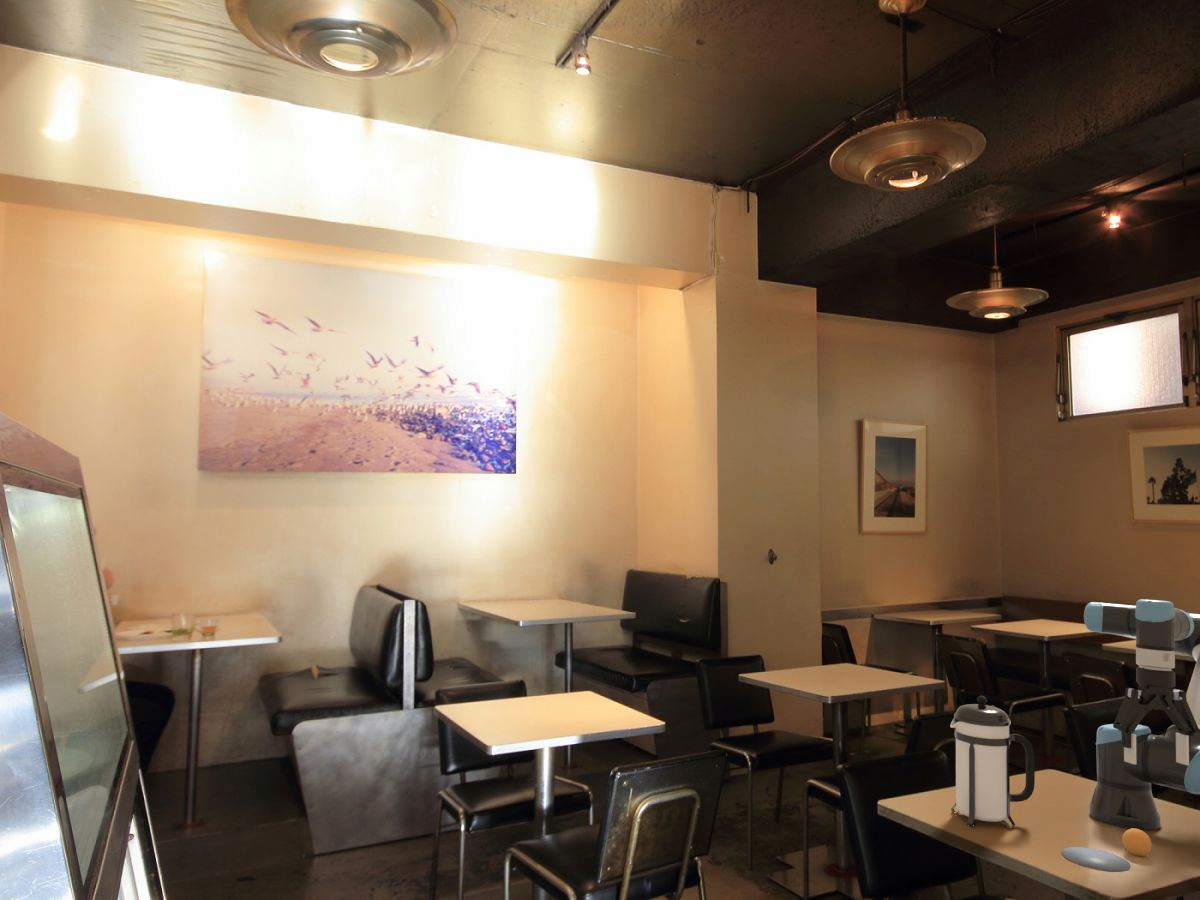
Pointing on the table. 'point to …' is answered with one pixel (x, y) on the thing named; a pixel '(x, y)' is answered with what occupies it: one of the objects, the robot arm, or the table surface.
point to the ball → (1137, 842)
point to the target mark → (1096, 859)
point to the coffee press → (987, 763)
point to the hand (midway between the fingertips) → (1156, 763)
